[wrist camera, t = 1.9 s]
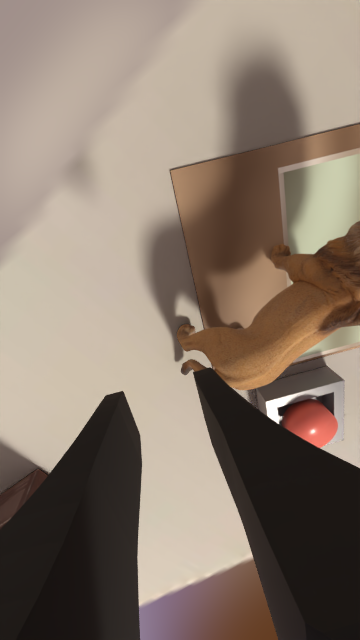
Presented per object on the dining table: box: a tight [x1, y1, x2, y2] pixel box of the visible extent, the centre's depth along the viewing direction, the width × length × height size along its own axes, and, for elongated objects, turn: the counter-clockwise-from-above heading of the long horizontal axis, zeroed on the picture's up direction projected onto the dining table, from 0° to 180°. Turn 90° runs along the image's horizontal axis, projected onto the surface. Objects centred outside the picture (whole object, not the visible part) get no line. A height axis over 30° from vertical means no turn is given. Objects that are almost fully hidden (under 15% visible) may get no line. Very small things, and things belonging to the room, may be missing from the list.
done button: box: [282, 399, 338, 448], centre depth 20 cm, size 4×4×2 cm
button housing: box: [256, 366, 344, 446], centre depth 22 cm, size 6×6×2 cm
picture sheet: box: [170, 124, 360, 369], centre depth 18 cm, size 18×15×1 cm
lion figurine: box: [177, 221, 360, 390], centre depth 14 cm, size 15×5×9 cm, turn 139°
